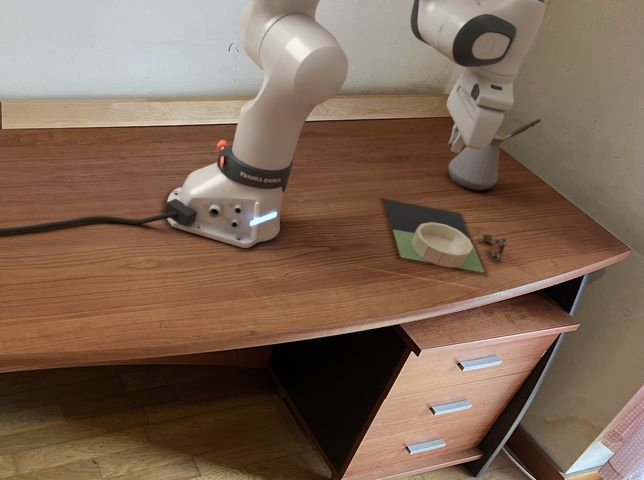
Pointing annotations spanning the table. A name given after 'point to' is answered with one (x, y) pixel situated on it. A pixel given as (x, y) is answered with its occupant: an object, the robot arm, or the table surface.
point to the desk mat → (412, 216)
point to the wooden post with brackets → (496, 241)
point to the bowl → (441, 244)
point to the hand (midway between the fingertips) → (453, 149)
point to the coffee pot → (481, 162)
